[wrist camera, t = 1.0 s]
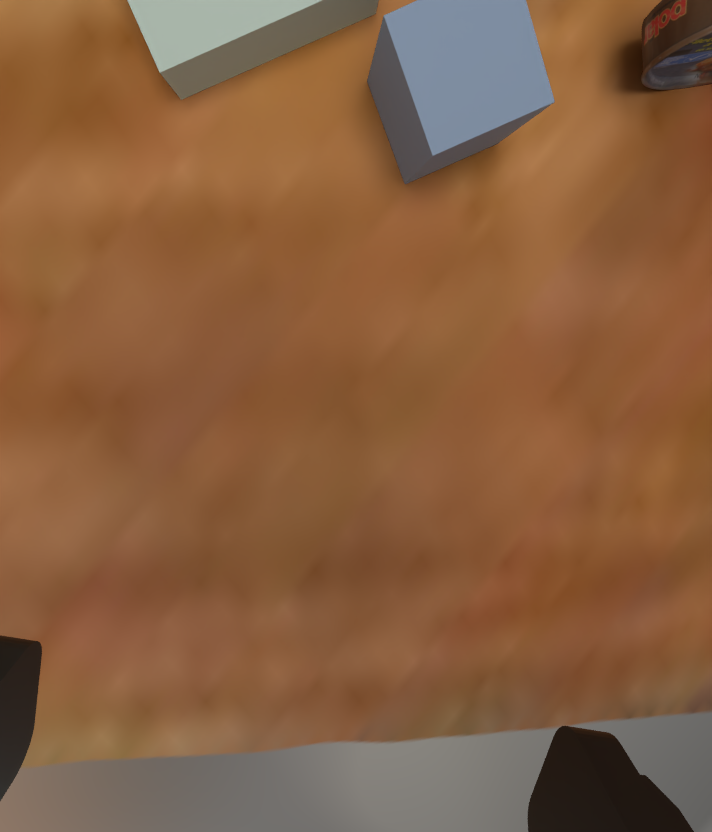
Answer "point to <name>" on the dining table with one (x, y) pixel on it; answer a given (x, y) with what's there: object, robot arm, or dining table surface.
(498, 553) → the dining table surface
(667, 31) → the tin
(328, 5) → the sage tile
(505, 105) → the slate block
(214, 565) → the dining table surface
